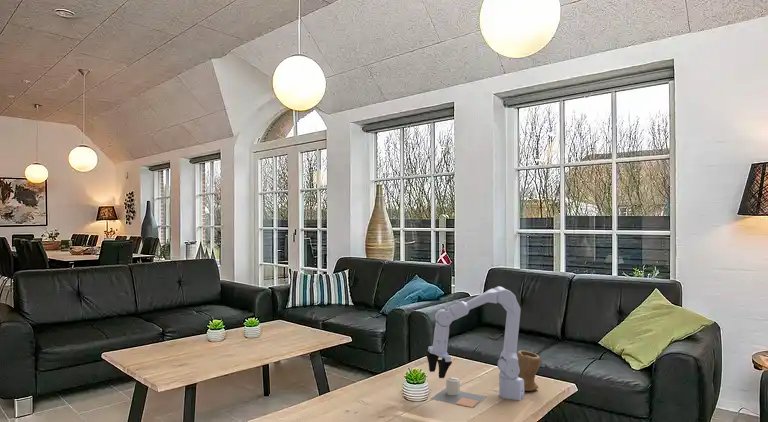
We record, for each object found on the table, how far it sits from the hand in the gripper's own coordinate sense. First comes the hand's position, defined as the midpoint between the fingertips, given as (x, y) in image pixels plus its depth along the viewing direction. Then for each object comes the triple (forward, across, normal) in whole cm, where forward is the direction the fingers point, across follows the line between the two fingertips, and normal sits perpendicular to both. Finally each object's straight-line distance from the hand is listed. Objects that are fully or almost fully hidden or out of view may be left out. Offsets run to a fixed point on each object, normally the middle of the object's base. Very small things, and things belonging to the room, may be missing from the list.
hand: (436, 374), depth 201 cm
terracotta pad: (+8, +10, +9) cm, 15 cm away
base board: (+9, +4, +9) cm, 13 cm away
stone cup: (+6, +1, +43) cm, 43 cm away
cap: (+8, -1, +9) cm, 12 cm away
